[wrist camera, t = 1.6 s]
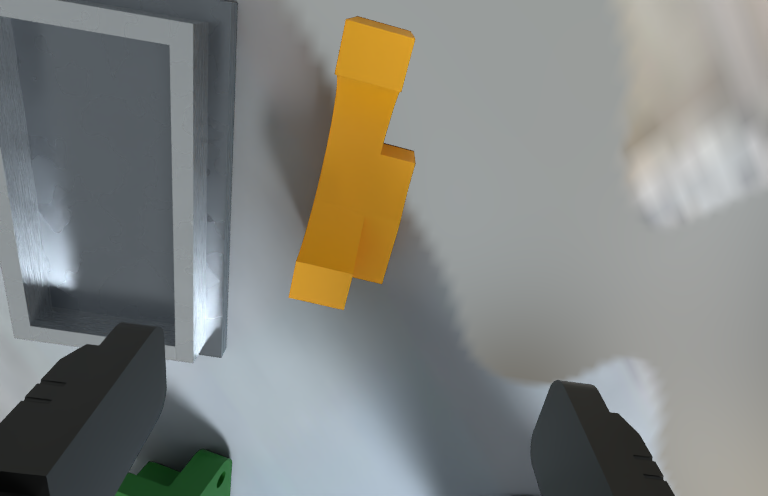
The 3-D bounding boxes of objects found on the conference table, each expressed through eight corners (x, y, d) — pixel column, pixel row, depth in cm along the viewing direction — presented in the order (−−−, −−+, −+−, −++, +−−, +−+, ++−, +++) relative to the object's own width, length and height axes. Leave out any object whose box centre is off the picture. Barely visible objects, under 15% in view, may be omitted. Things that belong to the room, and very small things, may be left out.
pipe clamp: (383, 256, 29) (380, 318, 24) (310, 239, 29) (288, 297, 23) (445, 40, 24) (461, 51, 19) (357, 16, 24) (346, 19, 18)
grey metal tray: (237, 2, 24) (217, 1, 21) (226, 347, 32) (210, 379, 29) (-27, -45, 23) (-83, -51, 20) (32, 320, 32) (-1, 349, 29)
